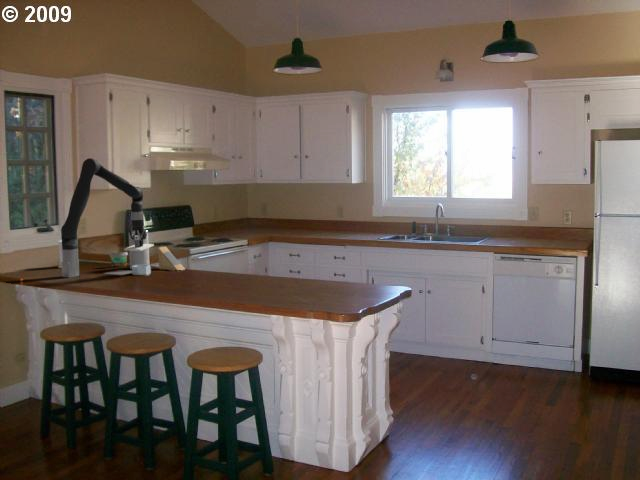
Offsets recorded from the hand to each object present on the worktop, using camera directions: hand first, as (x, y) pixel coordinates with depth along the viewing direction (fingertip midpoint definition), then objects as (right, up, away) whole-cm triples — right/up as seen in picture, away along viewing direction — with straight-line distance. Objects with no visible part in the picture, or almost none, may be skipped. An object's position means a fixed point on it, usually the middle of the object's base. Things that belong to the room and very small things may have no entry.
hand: (139, 246), depth 429 cm
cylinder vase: (-6, -16, +24) cm, 29 cm away
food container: (-22, -15, +34) cm, 43 cm away
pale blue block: (+1, -18, +1) cm, 18 cm away
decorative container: (-59, -15, +37) cm, 71 cm away
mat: (-13, -17, +7) cm, 23 cm away
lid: (0, -1, 0) cm, 1 cm away
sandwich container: (+17, -16, +20) cm, 31 cm away
